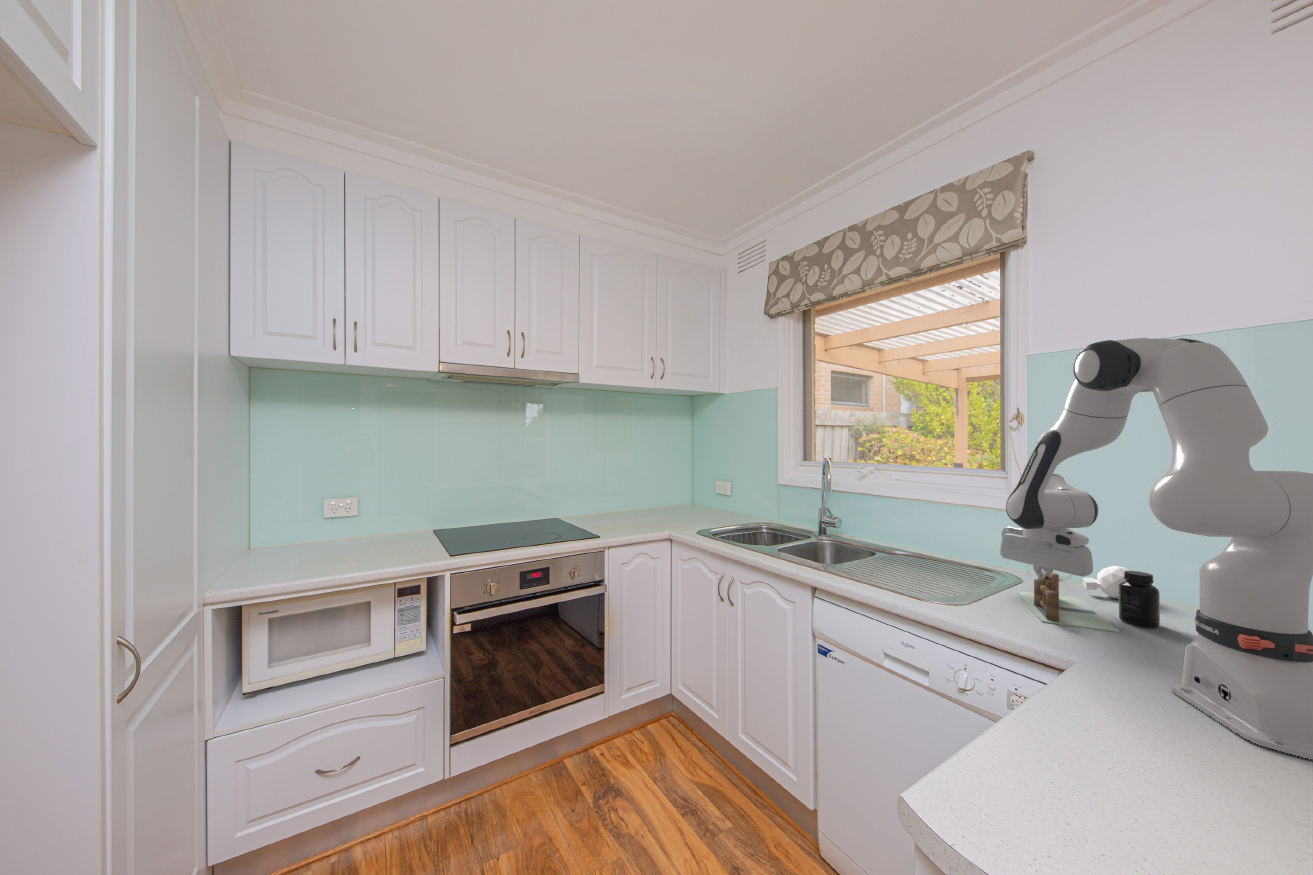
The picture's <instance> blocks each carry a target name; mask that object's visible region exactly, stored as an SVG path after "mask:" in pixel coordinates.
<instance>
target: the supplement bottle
mask: <svg viewBox="0 0 1313 875" xmlns="http://www.w3.org/2000/svg"><path fill="white" fill-rule="evenodd" d="M1124 579H1125V581H1124V582H1121V583H1120V584H1119V599H1118V618H1119V620H1120V621H1122V622H1123V623H1125V624H1128V625H1131V626H1134V627H1138V628H1139V627H1140V628H1146V629H1157V628H1159V627H1160V625H1161V623H1160V622H1161V616H1160V615H1161V613H1160V612H1161V609H1160V608H1161V605H1160V603H1161V602H1160V601H1161V598H1160V590H1159V589H1158V588H1157V587H1156V586H1155V585H1153V584H1154V575H1153V574H1152V573H1148V572H1144V571H1136V570H1131V571H1125V572H1124Z"/></svg>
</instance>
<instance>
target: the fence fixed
mask: <svg viewBox="0 0 1313 875" xmlns="http://www.w3.org/2000/svg"><path fill="white" fill-rule="evenodd" d="M1033 593H1034V605H1035V606H1038V607H1043V609H1045V610H1046V619H1048V620H1050V621H1054V622H1057V621H1059V596H1060V592H1059V593H1058V592H1055V591H1050V590H1049V589H1048V588H1047V587H1046V581H1044V580H1040V579H1038V578H1037V579H1036V578H1035V579H1033Z"/></svg>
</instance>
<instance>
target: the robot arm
mask: <svg viewBox="0 0 1313 875" xmlns="http://www.w3.org/2000/svg"><path fill="white" fill-rule="evenodd" d="M1072 368H1073V375H1074V381H1073V383H1072V386H1071V387H1070V390H1069V392H1068V395H1067V397H1066V401H1065V405H1064V408H1063V411H1062V413H1061V415H1060V417H1059V419H1058V420H1057V421H1056V422H1055V424H1054V425H1053V426H1052V427H1051V428H1050V429H1049V430H1048V431H1045V432H1044V433H1042V434H1041V436H1040V437H1039V439H1038V440H1037V442H1036V443H1035V446H1034V448H1033V449H1032V452H1031V455H1030V456H1029V459H1028V461H1027V463H1026V464H1025V467H1024V469H1023V472H1022V474H1021V476H1020V478H1019V481H1018V483H1017V485H1016V486H1015V488H1014V489H1013V490H1012V492H1011V493H1010V494H1009V496H1008V498H1007V500H1006V503H1005V512H1006V513H1007V517H1008V518H1009V519H1010V520H1011V521H1012V522H1013V523H1015V525H1016V526H1018V527H1019V528H1017V527H1014V526H1007V527H1004V528H1003V529H1002V530H1001V541H1000V542H1001V543H1000V549H999V554H1000V556H1001V557H1002V558H1003V559H1005V560H1010V561H1014V562H1019V563H1022V564H1025V565H1026V564H1027V565H1030V566H1032V567H1033V568H1032V569H1033V571H1034V573H1035V574H1036V576H1037V579H1040V580H1043V579H1045V578H1047V577H1049V576H1050V575H1051V573H1054V571H1058V572H1060V573H1061V572H1062V573H1066V574H1070V575H1074V576H1078V577H1082V578H1085V577H1087V576H1090V575H1091V574H1092V573H1093V572H1094V563H1093V562H1094V560H1093V555H1092V551H1091V549H1090V548H1089V547H1088V546H1087V545H1088V544H1089V542H1090V539H1089V537H1087V536H1086V535H1083V534H1081V533H1079V532H1076V531H1075V530H1073V529H1083V528H1089V527H1090V526H1092V525H1093V524H1095V522H1096V521H1097V518H1098V516H1099V506H1098V503H1097V501H1096V500H1095V499H1094V497H1092V495H1091V494H1089V493H1088V492H1086V491H1083V490H1082V491H1081V490H1080V489H1077V488H1075V487H1073V486H1072V485H1070V484H1069V483H1067V482H1066V480H1065V478H1064V476H1062V475H1060V474H1056V473H1055V470H1056V469H1057V467H1058V466H1059V465H1060V464H1061V463H1062V462H1064V461H1065V460H1068V459H1070V458H1072V457H1075V456H1076V455H1080V454H1083V453H1087V452H1090V451H1093V450H1097V449H1101V448H1103V447H1106V446H1108V445H1110V444H1111V443H1114V442H1115V441H1116V440H1117V439H1118V438H1119V437H1120V436H1121V435H1122V432H1123V430H1124V429H1125V426H1126V422H1127V420H1128V416H1129V413H1130V410H1131V407H1132V406H1131V405H1132V401H1133V399H1134V397H1135V396H1136V395H1137V394H1139V393H1151V392H1152V393H1153V395H1154V398H1155V400H1156V403H1157V406H1158V409H1159V412H1160V415H1161V417H1162V419H1163V422H1164V424H1165V427H1166V430H1167V433H1168V436H1169V438H1170V442H1171V447H1172V458H1171V464H1170V466H1169V468H1168V471H1167V472H1166V474H1165V475H1163V476H1162V477H1161V478H1159V479H1158V480H1157V481H1156V482H1155V483H1154V485H1153V487H1152V488H1151V490H1150V492H1149V497H1148V498H1149V506H1150V507H1149V508H1150V509H1151V511H1152V514H1153V515H1154V516H1155V518H1156V519H1157V520H1158V521H1159V522H1160V523H1161V524H1162V525H1163V526H1165V527H1167V528H1169V529H1171V530H1174V531H1177V532H1181V533H1182V532H1183V533H1187V534H1192V535H1198V536H1203V537H1209V538H1213V537H1215V538H1216V537H1217V538H1219V537H1220V538H1231V539H1230V541H1229V542H1228V544H1227V546H1226V547H1225V548H1224V549H1223V551H1222V552H1220V553H1219V554H1218V555H1216V556H1214V557H1212V558H1210V559H1209V560H1206V561H1205V562H1204V563H1203V564H1202V566H1201V567H1200V569H1199V573H1198V574H1199V609H1197V610H1196V612H1195V617H1194V622H1195V631H1196V632H1197V636H1196V637H1195V638H1194V639H1193V640H1192V641H1191V642H1190V643H1188V644H1187V645H1185V648H1184V657H1183V658H1184V659H1183V669H1182V675H1181V677H1182V678H1181V679H1182V680H1181V683H1174V684H1172V685H1171V692H1172V693H1174V694H1175V695H1176V696H1177V697H1180V698H1181V699H1183V700H1184V701H1185V702H1187V703H1188V704H1190V703H1191V704H1190V705H1191V706H1193V705H1194V706H1193V707H1195V708H1196V707H1197V708H1196V709H1198V710H1199V709H1200V710H1199V711H1201V712H1202V711H1203V713H1204V714H1205V715H1206V716H1208V717H1210V716H1211V717H1210V718H1211V719H1213V720H1215V721H1216V722H1218V723H1219V722H1220V723H1219V724H1221V723H1222V724H1223V727H1225V726H1226V727H1225V728H1227V727H1228V728H1229V729H1228V728H1227V729H1228V730H1230V729H1231V730H1232V732H1233V733H1235V734H1236V733H1238V734H1239V735H1241V736H1242V737H1243V739H1244V738H1245V739H1248V740H1250V741H1252V742H1255V743H1257V744H1260V745H1263V746H1266V747H1269V748H1272V749H1275V750H1278V751H1277V752H1279V751H1282V752H1286V753H1289V754H1294V755H1296V756H1295V757H1297V756H1300V757H1299V758H1301V757H1303V758H1302V759H1305V758H1310V759H1313V632H1312V631H1311V630H1310V629H1309V607H1310V604H1309V603H1310V589H1311V583H1312V579H1313V473H1311V472H1305V471H1297V470H1255V469H1254V467H1252V465H1251V462H1250V449H1251V448H1252V447H1254V446H1256V445H1257V444H1259V443H1260V442H1261V441H1262V440H1263V439H1264V438H1266V437H1267V435H1268V432H1269V424H1268V423H1267V421H1266V418H1265V417H1264V415H1263V412H1262V411H1261V409H1260V406H1259V405H1258V403H1257V401H1256V398H1255V395H1253V392H1252V391H1251V388H1250V387H1249V385H1248V384H1247V381H1246V380H1245V378H1244V376H1243V375H1242V374H1241V372H1240V370H1239V369H1238V368H1237V366H1236V365H1235V363H1234V362H1233V361H1232V360H1231V359H1230V357H1229V356H1228V355H1227V354H1226V353H1225V352H1224V351H1223V350H1222V348H1220V347H1218V346H1217V345H1214V344H1212V343H1209V342H1204V341H1201V340H1197V339H1191V338H1183V337H1182V338H1175V339H1174V338H1149V337H1140V338H1139V337H1137V338H1136V337H1135V338H1127V339H1117V340H1112V339H1107V340H1102V341H1097V342H1093V343H1090V344H1088V345H1086V346H1084V347H1083V348H1082V349H1081V350H1080V351H1079V352H1078V354H1077V355H1076V357H1075V359H1074V362H1073V367H1072ZM1020 527H1021V528H1020ZM1222 724H1221V725H1222ZM1231 730H1230V731H1231ZM1238 734H1237V735H1238ZM1239 735H1238V736H1239ZM1241 736H1240V737H1241ZM1242 737H1241V738H1242ZM1245 739H1244V740H1245ZM1257 744H1256V745H1257ZM1260 745H1259V746H1260ZM1263 746H1262V747H1263ZM1266 747H1265V748H1266ZM1269 748H1268V749H1269ZM1272 749H1271V750H1272ZM1275 750H1274V751H1275ZM1282 752H1281V753H1282ZM1286 753H1285V754H1286ZM1289 754H1288V755H1289ZM1310 759H1309V760H1310Z"/></svg>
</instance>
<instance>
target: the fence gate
mask: <svg viewBox="0 0 1313 875" xmlns="http://www.w3.org/2000/svg"><path fill="white" fill-rule="evenodd" d="M1043 580H1044V581H1046V587H1047V588H1048V589H1049V590H1050V591H1055V592H1058V593H1059V594H1060V576H1059V574H1058V573H1054V572H1052V573H1051V575H1050V576H1049V577H1047V578H1045V579H1043Z"/></svg>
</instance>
